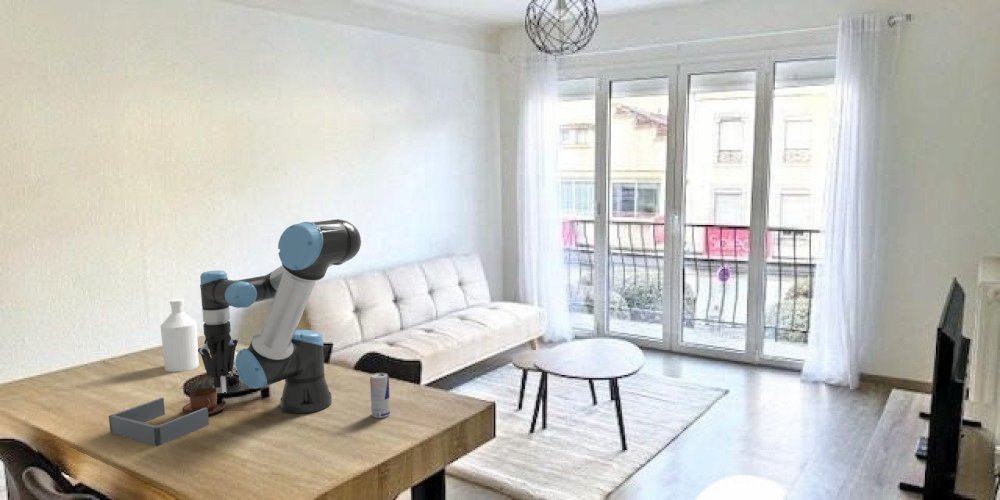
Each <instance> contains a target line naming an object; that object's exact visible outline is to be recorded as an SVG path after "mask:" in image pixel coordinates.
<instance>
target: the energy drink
mask: <svg viewBox="0 0 1000 500" xmlns="http://www.w3.org/2000/svg"><path fill="white" fill-rule="evenodd" d="M369 383H370V403H371V404H370V407H371V409H370V410H371V416H372V417H373V418H375V419H384V418H388V417H389V416H390V415H391V401H390V399H391V398H390V397H391V396H390V377H389V374H388V373H385V372H376V373H372V374H371V375H370V377H369Z"/></svg>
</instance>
